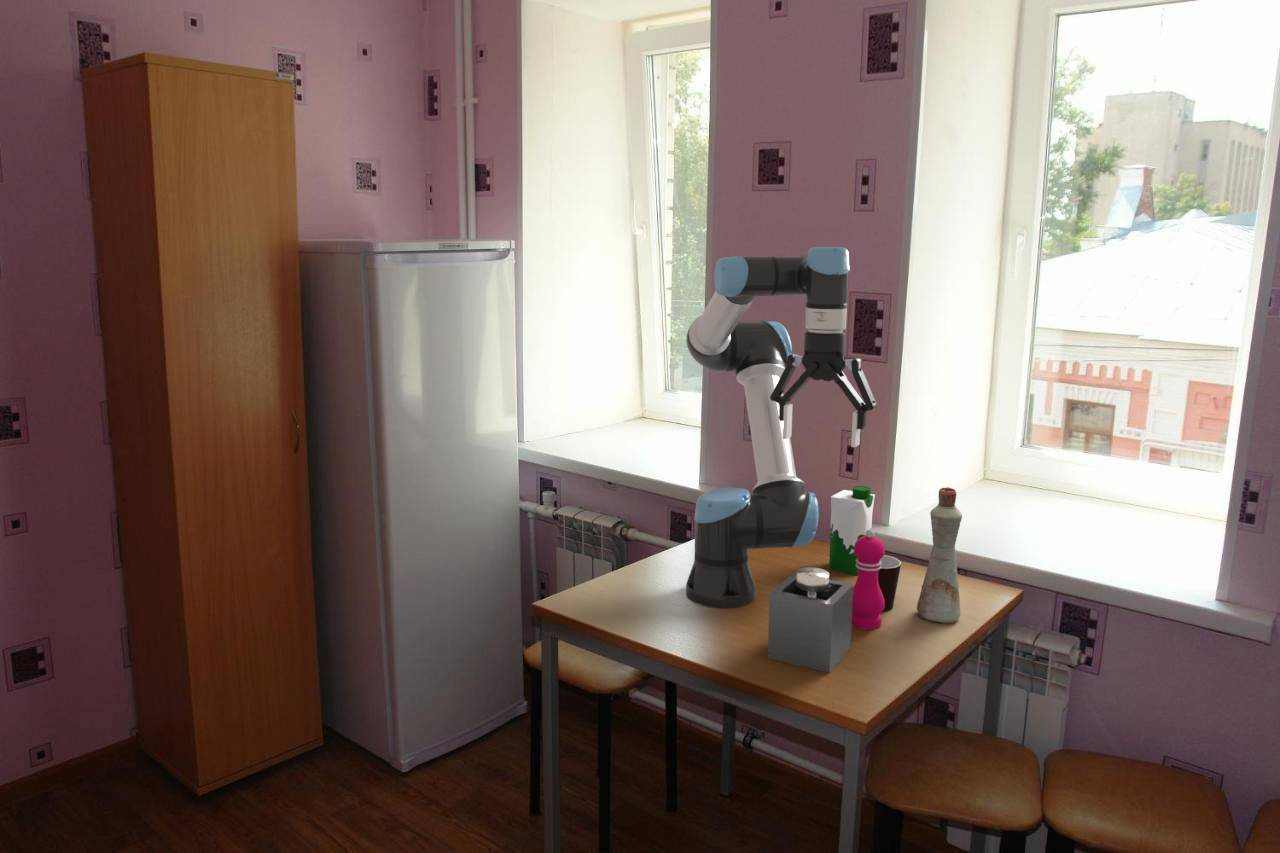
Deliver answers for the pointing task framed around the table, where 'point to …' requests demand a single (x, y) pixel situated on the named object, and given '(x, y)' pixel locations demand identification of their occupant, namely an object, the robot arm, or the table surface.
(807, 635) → the tower
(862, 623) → the pepper mill
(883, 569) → the coffee mug
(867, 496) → the milk carton
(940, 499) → the bottle
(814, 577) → the plunger
